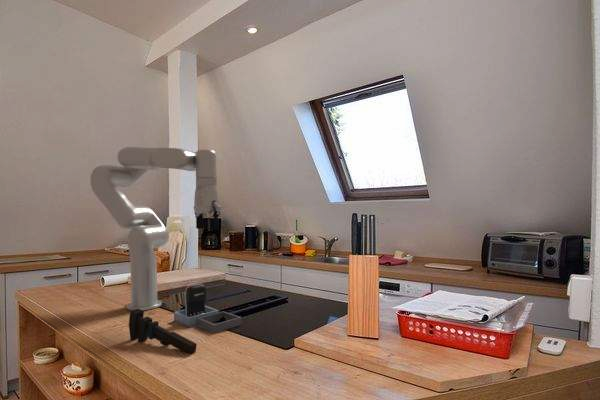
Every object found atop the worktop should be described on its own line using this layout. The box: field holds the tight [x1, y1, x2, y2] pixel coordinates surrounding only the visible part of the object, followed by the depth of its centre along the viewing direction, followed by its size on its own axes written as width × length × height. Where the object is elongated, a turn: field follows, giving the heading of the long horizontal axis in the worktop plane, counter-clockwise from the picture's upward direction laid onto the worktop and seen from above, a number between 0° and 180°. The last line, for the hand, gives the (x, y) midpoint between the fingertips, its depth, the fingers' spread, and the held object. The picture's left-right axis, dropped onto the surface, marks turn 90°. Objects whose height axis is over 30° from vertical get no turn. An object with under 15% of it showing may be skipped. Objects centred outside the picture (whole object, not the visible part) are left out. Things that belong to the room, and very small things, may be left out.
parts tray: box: [173, 305, 220, 328], centre depth 126 cm, size 10×11×3 cm
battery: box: [184, 283, 208, 317], centre depth 126 cm, size 7×4×11 cm, turn 136°
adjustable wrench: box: [128, 309, 197, 355], centre depth 104 cm, size 8×3×25 cm
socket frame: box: [196, 311, 243, 334], centre depth 120 cm, size 10×10×2 cm
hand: (207, 228), depth 138 cm, fingers open, 9 cm apart
